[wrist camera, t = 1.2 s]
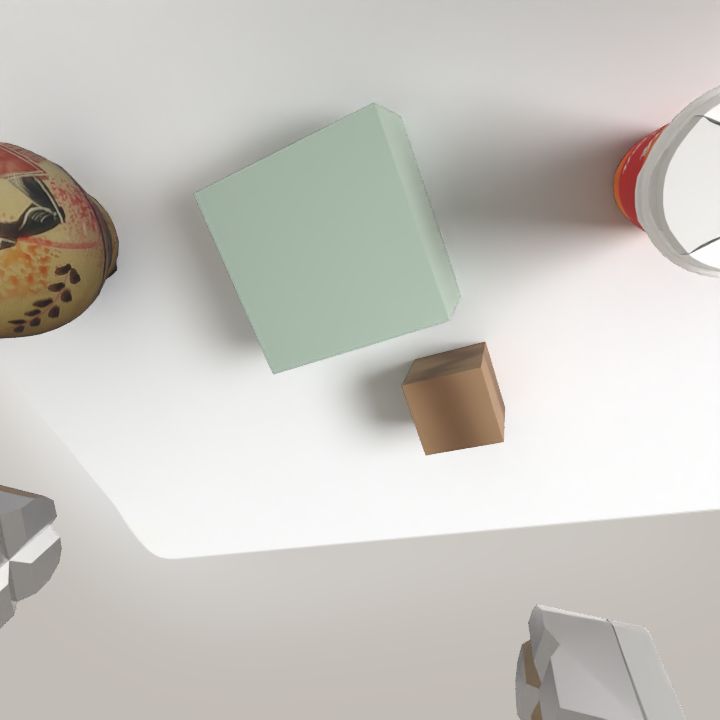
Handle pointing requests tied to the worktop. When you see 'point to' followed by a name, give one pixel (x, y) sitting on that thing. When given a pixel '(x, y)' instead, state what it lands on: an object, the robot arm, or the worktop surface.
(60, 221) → the ceramic jug
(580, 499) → the worktop surface
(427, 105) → the worktop surface
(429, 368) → the walnut block
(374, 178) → the sage box
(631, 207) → the coffee cup
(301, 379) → the worktop surface
